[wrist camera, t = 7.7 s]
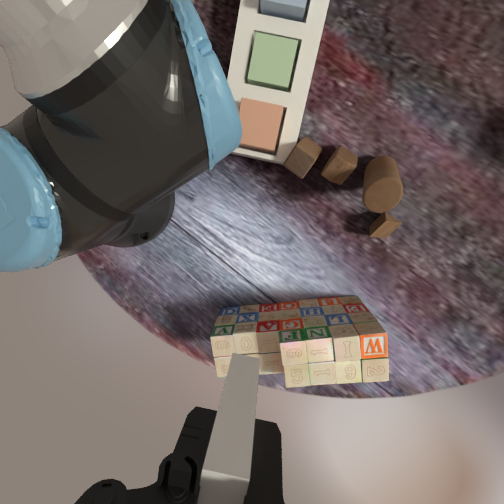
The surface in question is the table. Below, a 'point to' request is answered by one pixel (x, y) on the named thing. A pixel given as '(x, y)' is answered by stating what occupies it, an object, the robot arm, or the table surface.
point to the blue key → (284, 9)
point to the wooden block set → (374, 185)
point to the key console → (301, 73)
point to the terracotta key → (260, 124)
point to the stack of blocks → (305, 340)
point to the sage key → (272, 61)
